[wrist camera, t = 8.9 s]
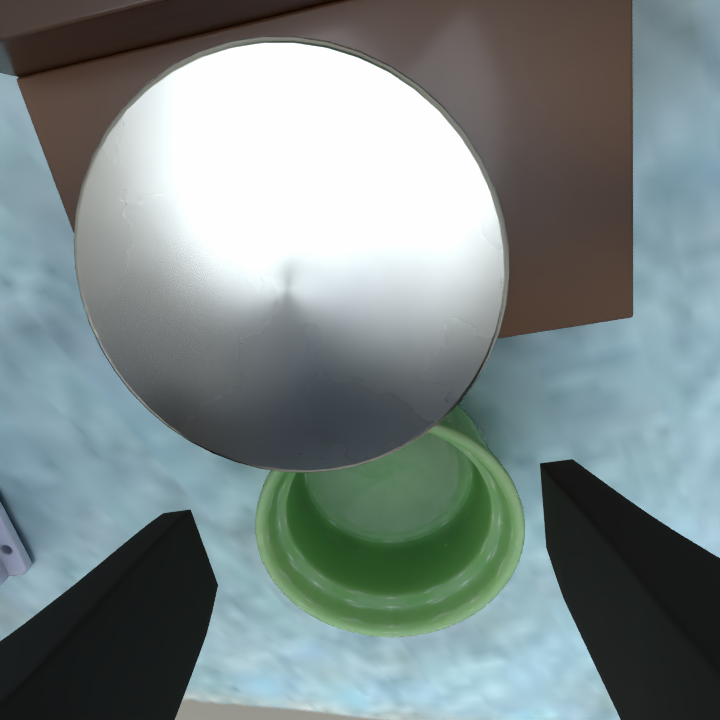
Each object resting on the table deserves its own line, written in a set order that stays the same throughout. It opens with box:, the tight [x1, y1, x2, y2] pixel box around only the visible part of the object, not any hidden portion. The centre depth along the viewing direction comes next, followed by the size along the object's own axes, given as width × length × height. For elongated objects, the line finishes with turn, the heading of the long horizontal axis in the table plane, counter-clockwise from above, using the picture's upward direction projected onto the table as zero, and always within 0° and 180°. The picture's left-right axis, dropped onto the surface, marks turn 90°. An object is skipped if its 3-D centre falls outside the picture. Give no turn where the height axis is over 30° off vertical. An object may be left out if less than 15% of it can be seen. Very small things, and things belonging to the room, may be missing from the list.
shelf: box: [0, 0, 633, 339], centre depth 14 cm, size 10×15×6 cm, turn 101°
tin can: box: [74, 36, 510, 473], centre depth 10 cm, size 6×6×8 cm
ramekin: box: [255, 405, 525, 637], centre depth 19 cm, size 9×9×4 cm
